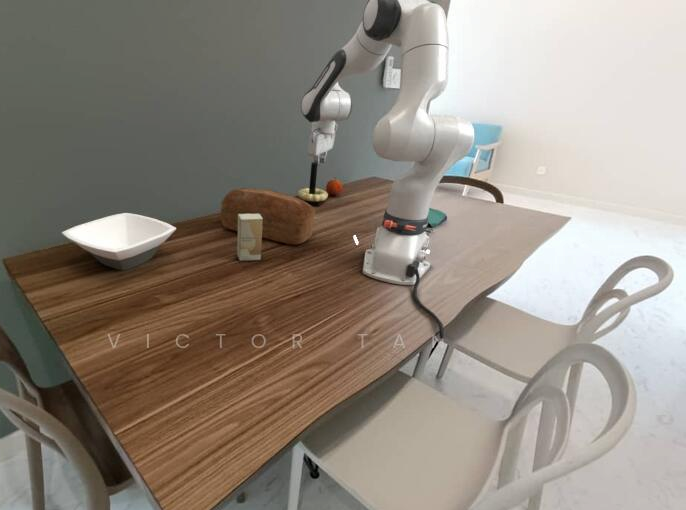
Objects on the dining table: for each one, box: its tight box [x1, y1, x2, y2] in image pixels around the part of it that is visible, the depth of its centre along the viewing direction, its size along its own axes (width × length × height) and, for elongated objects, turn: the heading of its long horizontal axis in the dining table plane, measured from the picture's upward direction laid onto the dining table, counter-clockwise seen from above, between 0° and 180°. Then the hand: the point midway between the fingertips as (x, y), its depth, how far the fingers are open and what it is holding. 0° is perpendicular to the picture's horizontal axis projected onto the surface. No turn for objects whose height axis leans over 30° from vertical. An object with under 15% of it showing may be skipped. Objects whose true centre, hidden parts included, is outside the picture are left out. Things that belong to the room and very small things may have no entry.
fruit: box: [325, 178, 344, 197], centre depth 168 cm, size 7×7×8 cm
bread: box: [220, 187, 316, 246], centre depth 124 cm, size 12×31×14 cm, turn 65°
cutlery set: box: [425, 207, 448, 237], centre depth 146 cm, size 20×30×2 cm, turn 149°
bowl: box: [61, 212, 177, 271], centre depth 104 cm, size 22×23×8 cm
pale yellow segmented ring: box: [297, 187, 329, 202], centre depth 159 cm, size 12×12×3 cm
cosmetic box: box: [236, 214, 263, 262], centre depth 108 cm, size 6×4×12 cm
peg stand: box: [297, 161, 326, 208], centre depth 156 cm, size 9×9×16 cm
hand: (319, 164), depth 157 cm, fingers open, 5 cm apart
